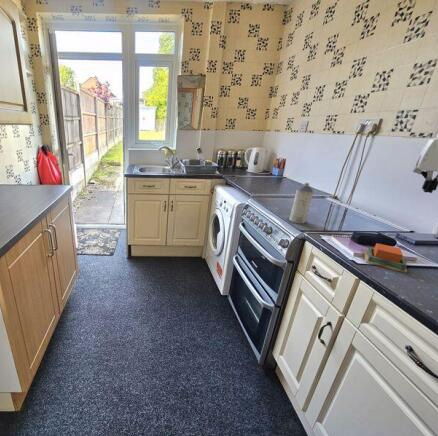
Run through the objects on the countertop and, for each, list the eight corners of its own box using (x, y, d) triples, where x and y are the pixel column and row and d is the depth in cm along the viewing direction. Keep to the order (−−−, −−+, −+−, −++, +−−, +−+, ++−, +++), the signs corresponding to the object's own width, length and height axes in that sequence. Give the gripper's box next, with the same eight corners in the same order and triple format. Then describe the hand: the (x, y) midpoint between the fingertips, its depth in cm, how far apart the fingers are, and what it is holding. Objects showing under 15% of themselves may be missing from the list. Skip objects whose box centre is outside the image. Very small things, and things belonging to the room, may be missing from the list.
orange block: (395, 259, 88) (400, 248, 87) (397, 266, 84) (403, 255, 82) (372, 253, 92) (376, 243, 90) (373, 260, 87) (377, 249, 86)
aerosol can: (307, 224, 121) (319, 184, 114) (295, 225, 120) (306, 185, 112) (297, 219, 127) (307, 181, 120) (285, 220, 126) (295, 181, 119)
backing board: (401, 261, 89) (404, 254, 88) (406, 274, 81) (409, 267, 80) (363, 252, 95) (366, 245, 94) (364, 263, 87) (367, 256, 86)
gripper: (485, 135, 75) (456, 193, 82) (416, 133, 84) (395, 186, 90) (495, 136, 70) (464, 198, 76) (421, 134, 78) (398, 190, 85)
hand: (427, 191), depth 83 cm, fingers closed
